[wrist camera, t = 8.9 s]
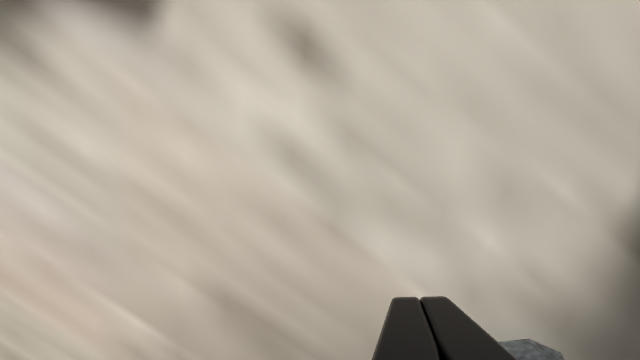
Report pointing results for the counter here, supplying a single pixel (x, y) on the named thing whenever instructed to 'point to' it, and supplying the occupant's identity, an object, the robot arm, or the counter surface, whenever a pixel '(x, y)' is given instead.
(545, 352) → the mortar and pestle
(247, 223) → the counter surface
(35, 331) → the counter surface
